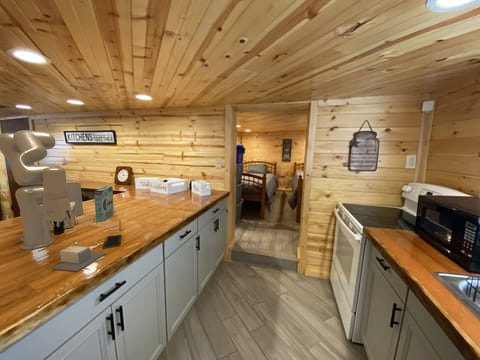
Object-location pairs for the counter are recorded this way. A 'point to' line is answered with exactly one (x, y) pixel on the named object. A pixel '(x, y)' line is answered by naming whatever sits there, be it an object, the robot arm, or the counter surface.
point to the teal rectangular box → (103, 203)
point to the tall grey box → (75, 196)
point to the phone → (112, 241)
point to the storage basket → (72, 219)
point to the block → (75, 254)
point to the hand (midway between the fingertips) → (59, 234)
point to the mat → (78, 266)
